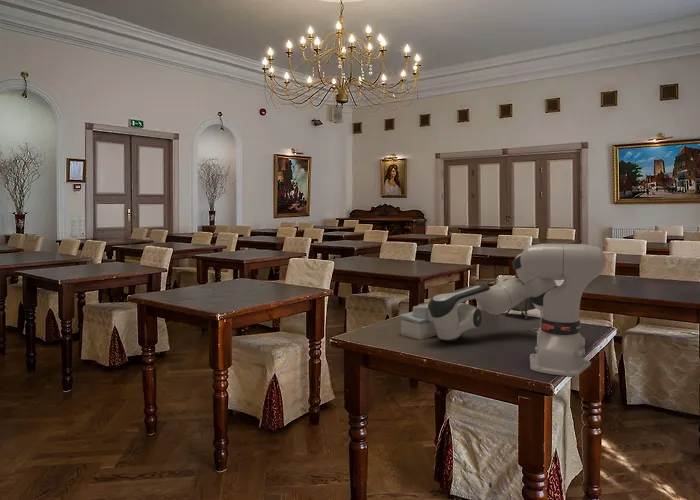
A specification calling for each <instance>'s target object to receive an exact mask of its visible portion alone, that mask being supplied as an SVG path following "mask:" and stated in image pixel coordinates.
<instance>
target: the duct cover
mask: <svg viewBox="0 0 700 500" xmlns="http://www.w3.org/2000/svg"><path fill="white" fill-rule="evenodd" d="M398 317H399V318H400V319H402V320H403V319H406V320H409V321H413V322H416V323H424V322H428V321H429V320H428V319H422V318H419V317H415V316H414V315H413V311H410V312H407V313H401V314H399V315H398Z"/></svg>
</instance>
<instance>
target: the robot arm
mask: <svg viewBox="0 0 700 500" xmlns="http://www.w3.org/2000/svg"><path fill="white" fill-rule="evenodd" d="M511 265H512V267H513V270H514V272H515V274H517V275H518V277H519V279H518V278H515V277H511V278H512V279H510V278H507V279H508V280H505V279H504V280H505V281H500V282H498V283H496V284H494V285H492V286H489V285H488V284H485V283H477V284H473V285H469V286H466V287H463V288H459V289H456V290H454V291H449V292H445V293H440V294H435V295H434V296H432V297H431V299H430V300H429V303H425V302H423V303H418V305H415V306H413V307H412V312H413V315H414V316H415V317H419V318H422V319H428V320H429V322H433V323H434V326H435V329H436V333H437V335H436V336H437V338H438V339H439V340H441V341H444V342H456V341H457V340H459V339H460V338H461V336H462V335H463V334H464V333H465V332H467V331H470V330H473V329H478V328H479V327H480V326H481V323H482V321H483V320H482V319H483V315H482V311H481V310H480V308H479V307H477V306H474V305H471V304H470V303H465V302H468V301H471V300H476V302H477V303H478V304H479V306H480V307H481V308H482V309H483V310H484V311H485V312H486V313H488V314H491V315H495V316H497V315H498V316H499V315H501V314H505V313H506V312H508V310H510V309H511V308H513V307H515V306H516V305H517V304H519V303H520V302H521V301H523V300H524V299H526V298H529V299H532V300H531V301H529V303H531V302H532V303H534V304H535V305H539V306H543V317H542V319H541V318H540V325H541V331H540V332H539V333H536V346H535V347H534V349H533V350H534V351H535V352H536V353H530V354H529V366H530V370H531V371H534V372H537V373H543V374H548V375H554V376H555V375H557V376H564V377H565V376H566V377H578V376H579V375H580V374H582V373H583V372H584V371H586V370H587V369H588V368H589V367H591V365H592V363H591V361H590V360H588V359H586V339H585V337H583V335H581V333H580V332H581V328H582V327H581V326H582V324H581V320H580V307H581V300H582V295H583V292H584V291H585V289H586V288H587V287H588V285H589V284H590V283H591V282H593V280H595V279H596V278H598V277H599V276H601V274H602V273H603V272H604V271H605V268H606V265H607V258H606V255H605V252H604V251H603V250H602V248H601V247H599V246H596V245H590V244H585V243H538V244H537V243H536V244H531V245H527V246H526V247H524V249H523V250H522V252H521V253H519V254H518V255H516V257H514V259H513V260H512V264H511ZM556 281H563V282H562V284H560V285H558V284H557V282H556ZM510 311H511V310H510Z"/></svg>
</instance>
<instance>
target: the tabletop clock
mask: <svg viewBox="0 0 700 500" xmlns="http://www.w3.org/2000/svg"><path fill="white" fill-rule="evenodd" d="M512 278H513V277H511V278H505V279H503V281H505V280H508V279H512ZM514 278H518V279H519V277H518V275H517V273H515V275H514ZM531 300H532V299H529V298H526V299H524V300H523V301H521V302H520V303H519V304H517V305H516V306H515V307H513V308H511V309H510V310H508V311H506V312H504V315H505V316H509V313H510V312H511V311H513V312H521V314H520V316H522V317H524V319H525V320H529V316H528V311H532V310H535V309H536V310H537V308H535V307H534V305H533V303H532V302H531V303H529V301H531Z"/></svg>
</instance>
